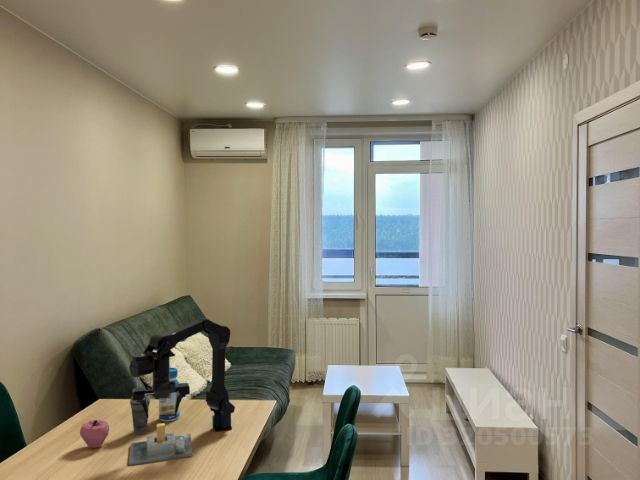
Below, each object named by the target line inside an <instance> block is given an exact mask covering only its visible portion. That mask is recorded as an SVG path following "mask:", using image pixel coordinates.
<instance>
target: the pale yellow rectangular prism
mask: <svg viewBox="0 0 640 480" xmlns="http://www.w3.org/2000/svg"><path fill="white" fill-rule="evenodd" d="M165 434H166V424H165V422H162V423H156V435H157V442H163V441H165Z"/></svg>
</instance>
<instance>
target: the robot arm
mask: <svg viewBox="0 0 640 480" xmlns="http://www.w3.org/2000/svg"><path fill="white" fill-rule="evenodd" d="M202 332H203V333H205V334H207V335H208V337H207V338H208V342H209V344H210V346H211V349H212V356H211V359H212V360H211V386H210V388H209V390H206V392H205V402H206V404H207V407H209V410H210V411H211V412H213V415H212V416H211V417H212V419H211V422H212V424H211V425H212V428H213V430H214V432H222V431H228V430H233V426H232V414H233V413H234V412H235V411H236V406H234V404H233V403H231V402H230V395H229V392H228V389H227V387H226V348H227V347H228V345H229V343H230V339H231V330H230V328H229V327H228V326H225V325H220V324H218V323H216V322H213V321H212V320H210V319H209V318H203V317H200V318H198V319H196V320H194V321H192V322H190V323H188V324H185V325H183V326H180V327H179V328H176V329H174V330H172V331H171V330H170V331H165V332H160V333H155V334H153V335H151V336H150V339H149V342H148V344H147V345H146V347H145V349H144V351H143V353H142V355H134V356H132V360H131V361H130V363H129V367H128V368H129V373H130V375H131V377H132V378H139V377H144V376H147V375H151V374H152V388H151V389H146V387H145V386H142V387H141V386H140V387H139V388H137V387H134V388H133V389H132V395H133V400H134V401H135V400H137V402H140V403H141V404H142V406H143V408H144V411H145V413H146V416H147V418H148V419H149V409H148V407H147V400H146V396H147V395H149V396H153V397H154V399H155V400H159V398H168V397H169V393H175V392H176V402H175V415H176V414H177V411H178V407H179V404H181V402H182V400H183V398H186V397H187V396H189V395H190V394H191V392H190V391H191V388H190V384H189V383H188V382H179V383H178V384H177V387H175V382H170V368H171V367H170V365H171V364H170V362H171V361H170V358H173V357H175V356H176V353H174V352H173V351H172V349H174V348H175V347H176V346H177V345H178V344H179V343H180V342H182V341H184V340H186V339H189V338H190V337H193V336H195V335H197V334H199V333H202Z"/></svg>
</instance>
